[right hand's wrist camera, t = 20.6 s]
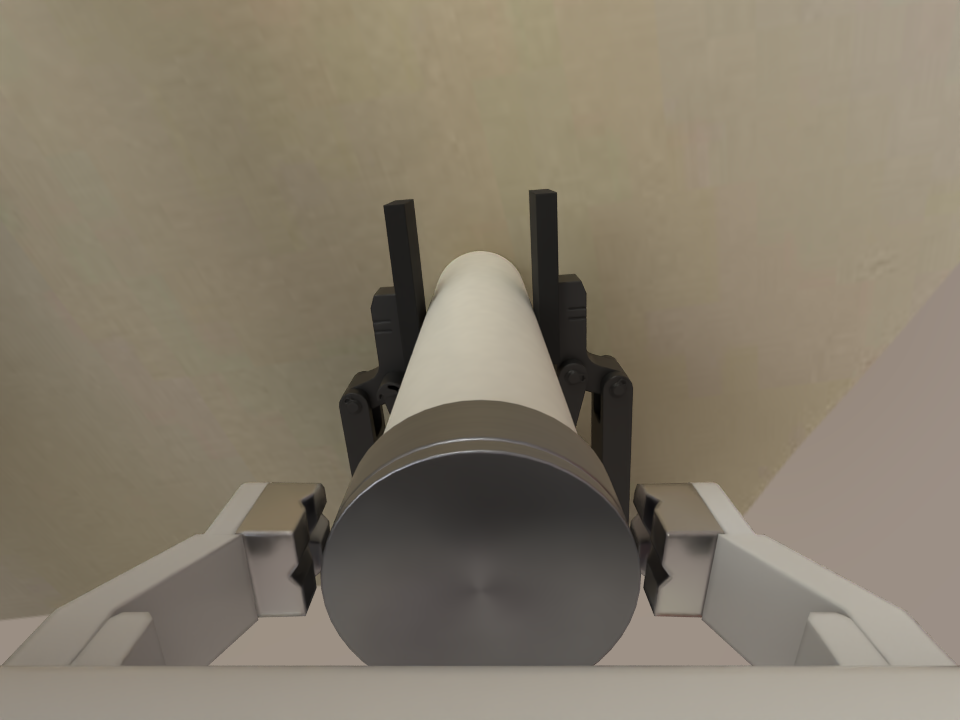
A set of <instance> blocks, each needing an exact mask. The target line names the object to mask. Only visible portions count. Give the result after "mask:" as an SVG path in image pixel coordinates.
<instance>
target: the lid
mask: <svg viewBox="0 0 960 720" xmlns="http://www.w3.org/2000/svg"><path fill="white" fill-rule="evenodd" d="M640 580H641V569H640V560H639V554H638V551H637V547H636V544H635V540H634V537H633V535H632V533H631V530H630V528H629V526H628V523H627V520H626V518H625V515H624V513H623V510H622V508H621V506H620V503H619V501H618V498H617V496H616V493H615V491H614V488H613V486H612V483H611V481H610V479H609V476H608V474H607V472H606V470H605V468H604V466H603V464H602V462H601V461H600V459H599V458H598V456H597V455H596V453H595V452H594V451H593V449H592V448H591V447H590V446H589V445H588V444H587V443H586V442H585V441H584V439H583V438H581V437H580V436H579V435H578V434H577V433H575V432H574V431H573V430H572V429H571V428H569V427H568V426H566V425H565V424H563V423H561V422H560V421H558V420H557V419H555V418H553V417H551V416H549V415H547V414H544V413H542V412H540V411H538V410H535V409H532V408H529V407H526V406H522V405H519V404H514V403H509V402H503V401H494V400H466V401H458V402H452V403H447V404H442V405H439V406H436V407H432V408H429V409H426V410H423V411H421V412H419V413H417V414H415V415H412V416H410V417H408V418H406V419H405V420H403V421H401V422H400V423H398V424H397V425H395V426H393V427H392V428H391V429H390V430H388V431H387V432H386V433H385V434H383V435H382V436H381V437H380V438H379V439H378V440H377V441H376V442H375V443H374V444H373V445H372V446H371V447H370V449H369V450H368V451H367V452H366V454H365V455H364V457H363V458H362V460H361V461H360V463H359V464H358V466H357V469H356V471H355V473H354V475H353V477H352V479H351V482H350V484H349V487H348V489H347V491H346V494H345V496H344V499H343V501H342V504H341V506H340V509H339V511H338V514H337V516H336V519H335V521H334V524H333V526H332V528H331V531H330V533H329V536H328V538H327V541H326V545H325V548H324V552H323V555H322V563H321V589H322V594H323V599H324V603H325V607H326V609H327V612H328V615H329V617H330V620H331V622H332V624H333V625H334V627H335V629H336V631H337V632H338V634H339V636H340V637H341V638H342V640H343V641H344V642H345V643H346V645H347V646H348V647H349V649H350V650H351V651H352V652H353V653H354V654H355V655H356V656H357V657H359V658H360V659H361V660H362V661H363V662H364V663H365V664H367V665H368V666H594V665H595V664H596V663H597V662H599V661H600V660H601V659H602V658H603V657H604V656H605V655H606V654H607V653H608V652H609V651H610V650H611V649H612V648H613V646H614V645H615V644H616V643H617V641H618V640H619V639H620V638H621V636H622V635H623V633H624V631H625V629H626V628H627V626H628V624H629V623H630V621H631V618H632V616H633V613H634V611H635V608H636V605H637V600H638V596H639V591H640Z"/></svg>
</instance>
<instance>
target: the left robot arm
mask: <svg viewBox="0 0 960 720" xmlns="http://www.w3.org/2000/svg"><path fill="white" fill-rule="evenodd" d="M529 204H530V231H531V258H532V285H533V311H534V313H535V316H536V319H537V322H538V325H539V327H540V330H541V333H542V336H543V339H544V342H545V344H546V347H547V350H548V353H549V356H550V358H551V361H552V364H553V367H554V370H555V372H556V375H557V378H558V381H559V384H560V386H561V389H562V392H563V395H564V398H565V400H566V403H567V406H568V409H569V412H570V414H571V417H572V420H573V423H574V426H575V428H576V424H577V420H578V416H579V413H580V409H581V405H582V401H583V397H584V393H585V391H589V392H592V410H591V448H592V449H593V451H594V452H595V453H596V455H597V456H598V458H599V459H600V461H601V462H602V464H603V466H604V468H605V470H606V472H607V474H608V476H609V479H610V481H611V483H612V486H613V488H614V491H615V493H616V496H617V498H618V501H619V503H620V506H621V508H622V510H623V513H624V515H625V518H626V520H627V523H628V525H629V494H630V463H631V432H632V401H633V386H632V383H631V381H630V380H629V378H628V377H627V375H626V374H625V372H624V371H623V369H622V368H621V366H620V365H619V363H618V362H617V361H616V359H615V358H613V357H612V356H608V355H604V356H597V355H594V354H591V353H588V352H587V350H586V291H585V289H584V287H583V284H582V282H581V280H580V279H579V278H578V277H577V276H576V274H567V275H558V226H557V192H554V191H552V190H549V189H541V190H529ZM384 214H385V221H386V229H387V236H388V244H389V252H390V259H391V267H392V274H393V282H394V287H382V288H380V289H379V290H378V291H377V292H376V294H375V295H374V297H373V301H372V305H371V313H372V320H373V327H374V332H375V340H376V347H377V353H378V360H379V367H377V368H375V369H373V370H370V371H368V372H367V371H362V372H359V373H357V374H356V375H355V376H354V378H353V379H352V381H351V383H350V384H349V386H348V388H347V389H346V391H345V393H344V394H343V396H342V398H341V400H340V402H339V408H340V414H341V419H342V425H343V430H344V435H345V441H346V446H347V452H348V457H349V463H350V468H351V474H352V477H353V475H354V473H355V471H356V469H357V466H358V464H359V463H360V461H361V460H362V458H363V457H364V455H365V454H366V452H367V451H368V450H369V449H370V447H371V446H372V445H373V444H374V443H375V442H376V441H377V440H378V439H379V438H380V437H381V436H382V435H383V434H384V431H385V428H386V427H385V421H384V414H383V408H382V405H383V404H386V406H387V409H388V411H389V413H390V414H391V412H392V409H393V406H394V403H395V400H396V398H397V395H398V392H399V389H400V386H401V384H402V381H403V378H404V375H405V372H406V370H407V367H408V364H409V361H410V358H411V356H412V353H413V350H414V347H415V344H416V342H417V339H418V336H419V333H420V330H421V328H422V325H423V322H424V319H425V316H426V307H425V298H424V289H423V280H422V271H421V262H420V253H419V244H418V235H417V226H416V218H415V209H414V200H413V199H409V200H396V201H393V202H391V203H388V204H386V205H384Z"/></svg>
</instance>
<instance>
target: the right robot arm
mask: <svg viewBox="0 0 960 720" xmlns="http://www.w3.org/2000/svg"><path fill="white" fill-rule="evenodd" d="M326 502H327V501H326V494H325V488H324V486H323V485H322V484H321V483H282V482H272V483H270V482H246V483H244V484H241V485H240V487H239V488H238V489H237V491H236V492H235V493H234V495H233V496H232V497H231V499H230V500H229V501H228V503H227V504H226V505H225V507H224V508H223V509H222V511H221V512H220V513H219V514H218V516H217V517H216V518H215V520H214V521H213V522H212V524H211V525H210V526H209V528H208V529H207V530H206V532H205V533H204V534H195V535H193V536H191V537H190V538H188V539H186V540H184V541H182V542H180V543H178V544H177V545H175V546H173V547H171V548H169V549H167V550H165V551H163V552H162V553H160V554H158V555H156V556H154V557H152V558H150V559H149V560H147V561H145V562H143V563H141V564H139V565H137V566H135V567H134V568H132V569H130V570H128V571H126V572H124V573H122V574H121V575H119V576H117V577H115V578H113V579H111V580H109V581H108V582H106V583H104V584H102V585H100V586H98V587H96V588H94V589H93V590H91V591H89V592H87V593H85V594H83V595H81V596H80V597H78V598H76V599H74V600H72V601H70V602H68V603H66V604H65V605H63V606H61V607H59V608H57V609H55V610H54V611H53V612H52V613H51V614H50V615H49V616H48V617H47V618H46V620H45V621H44V622H43V623H42V624H41V625H40V626H39V627H38V628H37V629H36V630H35V631H34V632H33V633H32V634H31V635H30V636H29V637H28V638H27V639H26V640H25V642H24V643H23V644H22V645H21V646H20V647H19V648H18V649H17V650H16V651H15V652H14V653H13V654H12V655H11V656H10V657H9V658H8V659H7V660H6V661H5V662H4V663H3V664H2V666H0V720H960V666H958V665H957V664H956V662H955V661H954V660H953V659H952V658H951V657H950V656H949V655H948V654H947V653H946V652H945V651H944V650H943V649H942V648H941V647H940V646H939V645H938V644H937V642H936V641H935V640H934V639H933V638H932V637H931V636H930V635H929V634H928V633H927V632H926V631H925V630H924V629H923V628H922V627H921V626H920V625H919V624H918V622H917V621H916V620H915V619H914V618H913V617H912V616H911V615H910V614H909V613H908V612H907V611H906V610H904V609H902V608H900V607H899V606H897V605H895V604H893V603H891V602H889V601H887V600H886V599H884V598H882V597H880V596H878V595H876V594H874V593H873V592H871V591H869V590H867V589H865V588H863V587H861V586H860V585H858V584H856V583H854V582H852V581H850V580H848V579H847V578H845V577H843V576H841V575H839V574H837V573H835V572H834V571H832V570H830V569H828V568H826V567H824V566H822V565H821V564H819V563H817V562H815V561H813V560H811V559H809V558H808V557H806V556H804V555H802V554H800V553H798V552H796V551H795V550H793V549H791V548H789V547H787V546H785V545H783V544H781V543H780V542H778V541H776V540H774V539H772V538H770V537H768V536H767V535H765V534H756V533H755V532H754V531H753V529H752V528H751V527H750V525H749V524H748V523H747V521H746V520H745V519H744V517H743V516H742V515H741V513H740V512H739V511H738V509H737V508H736V507H735V505H734V504H733V503H732V502H731V500H730V499H729V498H728V496H727V495H726V494H725V492H724V491H723V490H722V488H721V487H720V486H719V485H718V484H717V483H715V482H694V483H667V484H637V486H636V489H635V493H634V500H633V503H634V505H635V507H636V509H637V512H638V514H637V515H636V516H635V517H634V518H633V519H632V520H631V526H630V530H631V533H632V535H633V537H634V540H635V544H636V547H637V551H638V554H639V560H640V569H641V574H642V575H644V576H645V579H644V587H643V588H644V591H645V593H646V596H647V598H648V601H649V603H650V606H651V608H652V611H653V613H654V616H672V617H702V620H703V621H704V622H705V623H706V624H707V625H708V626H709V627H710V628H711V629H712V630H714V631H715V632H716V633H717V634H718V635H719V636H720V637H721V638H722V639H723V640H725V641H726V642H727V643H728V644H729V645H730V646H731V647H732V648H733V649H734V650H736V651H737V652H738V653H739V654H740V655H741V656H742V657H743V658H744V659H745V660H746V661H748V662H749V663H750V664H751V665H752V666H208V665H209V664H210V663H211V662H213V661H214V660H215V659H216V658H217V657H218V656H219V655H220V654H221V653H222V652H224V651H225V650H226V649H227V648H228V647H229V646H230V645H231V644H232V643H233V642H234V641H236V640H237V639H238V638H239V637H240V636H241V635H242V634H243V633H244V632H245V631H247V630H248V629H249V628H250V627H251V626H252V625H253V624H254V623H255V622H256V621H258V617H287V616H306V613H307V611H308V608H309V606H310V603H311V601H312V598H313V596H314V593H315V590H316V580H315V576H316V575H317V574H319V573H320V572H321V563H322V555H323V552H324V548H325V545H326V541H327V538H328V536H329V533H330V525H329V520H328V519H327V518H326V517H325V516H324V515H323V514H322V511H323V509H324V507H325V505H326Z"/></svg>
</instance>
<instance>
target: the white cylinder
mask: <svg viewBox="0 0 960 720" xmlns="http://www.w3.org/2000/svg"><path fill="white" fill-rule="evenodd" d="M466 400H494V401H503V402H509V403H514V404H519V405H522V406H526V407H529V408H532V409H535V410H538V411H540V412H542V413H544V414H547V415H549V416H551V417H553V418H555V419H557V420H558V421H560V422H561V423H563V424H565V425H566V426H568V427H569V428H571V429H572V430H573V431H574V432H575V433H577V431H576V428H575V426H574V423H573V420H572V417H571V414H570V412H569V409H568V406H567V403H566V400H565V398H564V395H563V392H562V389H561V386H560V384H559V381H558V378H557V375H556V372H555V370H554V367H553V364H552V361H551V358H550V356H549V353H548V350H547V347H546V344H545V342H544V339H543V336H542V333H541V330H540V327H539V325H538V322H537V319H536V316H535V313H534V311H533V308H532V305H531V302H530V299H529V297H528V294H527V291H526V288H525V285H524V283H523V280H522V277H521V275H520V273H519V272H518V270H517V269H516V267H515V266H514V265H513V264H512V263H511V262H509V261H508V260H507V259H505V258H504V257H502V256H500V255H498V254H495V253H492V252H486V251H475V252H470V253H466V254H463V255H461V256H459V257H457V258H456V259H454V260H453V261H452V262H450V263H449V264H448V265H447V267H446V268H445V269H444V270H443V272H442V274H441V275H440V278H439V280H438V283H437V286H436V288H435V291H434V294H433V297H432V300H431V302H430V305H429V308H428V311H427V314H426V316H425V319H424V322H423V325H422V328H421V330H420V333H419V336H418V339H417V342H416V344H415V347H414V350H413V353H412V356H411V358H410V361H409V364H408V367H407V370H406V372H405V375H404V378H403V381H402V384H401V386H400V389H399V392H398V395H397V398H396V400H395V403H394V406H393V409H392V412H391V414H390V417H389V420H388V423H387V426H386V428H385V431H384V434H385V433H386V432H387V431H388V430H390V429H391V428H392V427H393V426H395V425H397V424H398V423H400V422H401V421H403V420H405V419H406V418H408V417H410V416H412V415H415V414H417V413H419V412H421V411H423V410H426V409H429V408H432V407H436V406H439V405H442V404H447V403H452V402H458V401H466Z"/></svg>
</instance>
